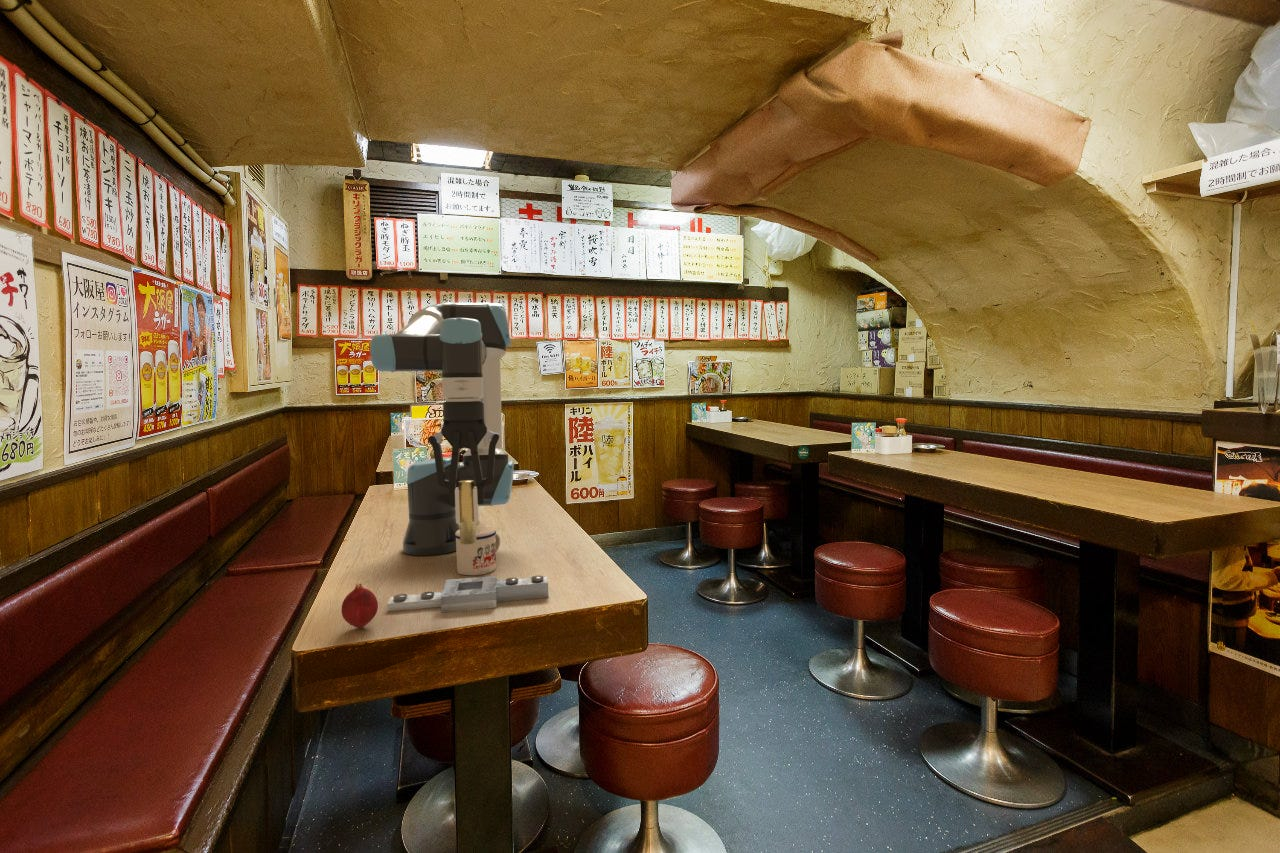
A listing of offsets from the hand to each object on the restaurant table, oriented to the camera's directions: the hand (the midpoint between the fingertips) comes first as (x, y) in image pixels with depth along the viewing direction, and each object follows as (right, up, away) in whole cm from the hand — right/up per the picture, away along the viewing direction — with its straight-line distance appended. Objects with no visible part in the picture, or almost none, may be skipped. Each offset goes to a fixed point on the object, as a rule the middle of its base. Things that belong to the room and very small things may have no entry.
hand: (467, 521), depth 115 cm
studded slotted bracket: (0, -16, +1) cm, 16 cm away
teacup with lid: (-3, -15, +22) cm, 27 cm away
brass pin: (0, -4, 0) cm, 4 cm away
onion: (-15, -17, -11) cm, 26 cm away
